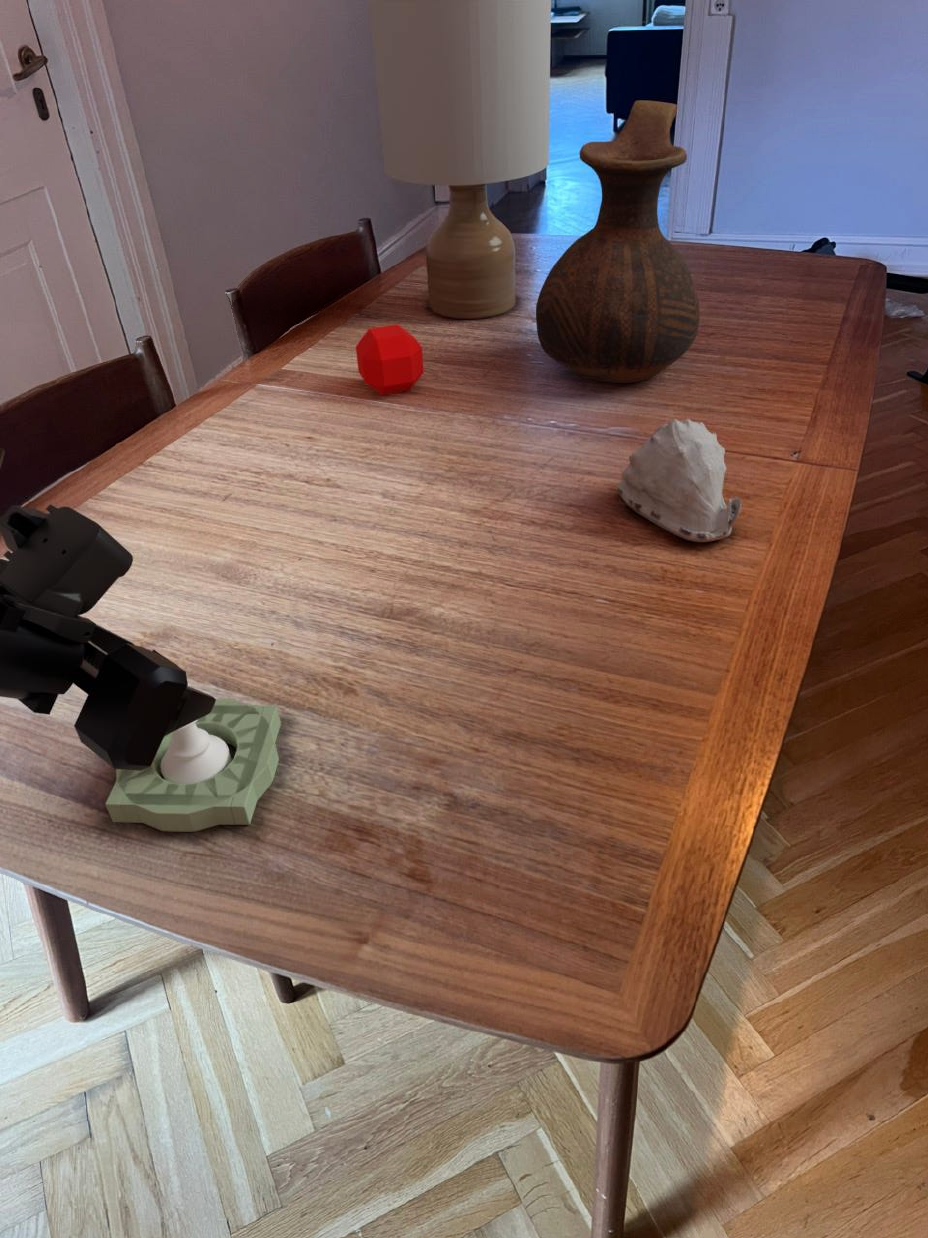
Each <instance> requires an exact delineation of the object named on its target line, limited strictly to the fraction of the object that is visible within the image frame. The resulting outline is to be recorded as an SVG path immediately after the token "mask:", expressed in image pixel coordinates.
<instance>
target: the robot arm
mask: <svg viewBox="0 0 928 1238" xmlns="http://www.w3.org/2000/svg"><path fill="white" fill-rule="evenodd" d="M5 453H6V451H5V450H4V448H3V447H1V446H0V469H1V468H2V464H3V461H4V457H5ZM45 510H46V511H47V512H49V513H45V512H44V511H41V510H39V509H35V508H31V507H25V506H20V505H16V504H14V505H11V506H10V507H9V509H7V511H5V513H4V514H3V515H2V516H0V534H1V536H2V539H3V541H4V543H5V546H6V548H8V550H7V551H6V552H5V553H4V554H3V557H4V558H6V559H3V558H0V697H1V698H7V699H15V700H18V701H19V702H20V703H22V704H23V705H24V706H25V707H26V708H27V709H29V710H30V711H31V712H32V713H34V714H40V715H49V716H50V715H51V713H52V710H53V708H54V707H55V706H54V705H55V703H56V701H57V699H58V697H59V695H62V696H63V695H65V694H66V693H67V692H68V691H69V690H70V688H71V687H72V686H73V685H75V686H76V687H77V688H79V690H81V691H82V692H84V693H85V694H86V695H87V696H86V699H85V701H84V703H83V705H82V706H81V710H80V712H79V714H78V716H77V718H76V720H75V722H74V725H73V727H74V728H75V732H76V734H77V736H78V738H79V740H80V742H81V743H82V744H83V745H84V746H86V748H88V749H89V750H90V751H91V752H93V753H94V754H95V755H97V756H98V757H99V758H100V759H101V760H103V761H104V762H105V763H106V764H107V765H109V766H110V767H111V768H113V770H116V769H123V770H138V771H141V770H144V769H146V768H148V767H150V766H151V765H152V762H153V760H154V758H155V756H156V754H157V751H158V749H159V747H160V745H161V743H162V740H163V738H164V737H165V736H166V735H168V734H170V733H172V732H174V731H176V730H178V729H180V728H182V727H184V726H186V725H188V724H190V723H192V722H194V721H196V720H198V719H200V718H202V717H204V716H206V715H208V714H209V713H210V712H211V711H212V709H213V706H214V704H215V702H216V699H217V698H215V697H214V696H213V695H211V694H208V693H206V692H204V691H202V690H199V689H197V688H195V687H193V686H191V685H190V686H191V687H190V686H188V684H189V682H188V676H187V671H186V670H184V669H183V668H181V667H180V666H179V665H178V664H176V663H175V662H174V661H172V660H170V659H169V658H167V657H166V656H164V655H162V654H161V653H160V652H158V651H157V650H155V649H152V650H151V649H148V648H145V647H144V646H142V645H136V644H135V643H133V642H132V641H130V640H128V639H126V638H125V637H122V636H120V635H119V634H116V633H114V632H113V631H111V630H108V629H106V628H104V627H103V626H101V625H99V624H97V623H95V622H94V621H93V620H91V619H90V618H89V617H84V616H82V615H85V614H87V613H89V611H91V610H92V609H93V608H94V607H95V606H96V604H98V602H99V601H100V600H101V599H102V598H103V597H104V595H105V594H106V593H107V592H108V590H109V589H110V588H111V587H112V586H113V585H114V584H115V582H117V580H119V578H123V577H124V576H126V574H127V573H128V572H129V571H130V570H131V568H132V566H133V562H134V557H133V555H132V553H131V552H130V551H129V550H127V548H126V547H124V546H123V545H122V544H121V543H120V542H119V541H118V540H117V539H115V538H114V537H113V536H112V534H110V533H109V532H108V531H107V530H105V529H104V527H103V526H101V525H100V524H99V523H98V522H97V521H95V520H93V519H91V518H90V517H88V516H86V515H85V514H82V513H80V512H78V511H77V510H75V509H73V507H70V506H60V507H56V506H55V505H53V504H52V503H51V504H48V506H47V507H46V508H45ZM9 550H10V551H9Z"/></svg>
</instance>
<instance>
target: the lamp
mask: <svg viewBox="0 0 928 1238" xmlns="http://www.w3.org/2000/svg"><path fill="white" fill-rule="evenodd" d="M368 7H369V19H370V20H369V21H370V29H371V40H372V51H373V60H374V72H375V73H374V74H375V82H376V83H375V84H376V94H377V104H378V105H377V107H378V117H379V126H380V136H381V148H382V158H383V168H384V169H383V170H384V173H385V175H386V176H388V177H389V178H392V179H394V180H396V181H399V182H405V183H409V184H416V185H426V186H447V187H448V188H449V195H448V197H449V198H448V199H449V207H448V209H447V213H446V215H445V216H444V218H443V220H442V221H441V222H440V223H439V224H438V225H437V226H436V227H435V228H434V230H433V231H432V233H431V234H430V235H429V237H428V239H427V241H426V247H425V263H426V264H425V265H426V274H427V278H426V279H427V292H428V299H429V300H428V301H429V307H430V309H431V310H432V311H433V312H434V313H435V314H437V315H439V316H442V317H446V318H451V319H458V320H470V319H471V320H472V319H485V318H486V319H487V318H491V317H495V316H496V317H497V316H499V315H502V314H506V313H507V312H509V311H510V310H512V309H513V308H514V306H515V305H516V303H517V298H516V297H517V294H516V292H517V290H516V289H517V288H516V286H517V281H516V265H517V262H516V259H517V257H516V255H517V254H516V253H517V252H516V246H515V242H514V239H513V235H512V233H511V231H510V229H508V227H506V225H504V223H502V221H500V220H499V219H498V218H497V217H496V216H495V215H494V213H493V212H492V211H491V210H490V207H489V201H488V193H487V191H488V190H487V186H488V184H493V183H502V182H507V181H512V180H517V179H521V178H525V177H529V176H532V175H535V174H537V173H539V172H542V171H543V170H544V169H546V168H547V167H548V166H549V164H550V107H551V106H550V105H551V104H550V102H551V101H550V100H551V99H550V98H551V34H552V33H551V32H552V31H551V29H552V28H551V27H552V23H551V22H552V21H551V20H552V0H368Z"/></svg>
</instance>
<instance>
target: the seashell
mask: <svg viewBox="0 0 928 1238" xmlns="http://www.w3.org/2000/svg"><path fill="white" fill-rule="evenodd" d="M725 453H726V449H725V448H724V447H723V446H722V445H721V444H720V443H719V442H718V435H717V433H716V432H710V431H709V430H708V428H707V427H706V425H705V423H703V422H702V421H700V422H699V421H698V422H697V421H693V420H692V421H691V419H690V418H689V417H688V418H686V419H682V420H678V419H676V418H673V419H671V420H670V421H669V422H668V423H663V424H661V425H659V426H658V427H657V428H656V429H655V430H654V431H653V432H652V434H651V435H650V437H649V438H647V439H646V440H645V441H644V443H643V444H642V445H641V446H640V448H638V449H637V450H636V451H635V452H633V453H632V454H630V455H629V457H628V459H629V464H628V466H627V467H626V468H625V469H624V470H623V471H622V472H621V478H622V480H621V482H620V483H619V484H617V485H616V491H617V494H618V495H619V496H620V498H621V499H622V501H624V503H626V505H627V506H628V507H629V508H630V509H631V510H633V511H634V512H636V513H637V514H638V515H640V516H641V517H643V518H645V519H647V520H648V521H650V522H652V523H653V524H655V525H656V526H658V527H659V528H662V529H663V530H665V531H668V532H669V533H671V534H673V535H675V536H677V537H679V538H681V539H684V540H687V541H689V542H694V543H707V542H713V541H718V540H723V539H727V538H728V537H729V536H730V535H731V534H732V531H733V524H735V522H736V520H737V519H738V517H739V514H740V512H741V510H742V501H741V497H739V496H736V497H732V498H728V500H727V503H728V504H727V503H726V502H725V500H724V496H723V488H724V483H725V482H724V481H725V476H726V472H727V466H726V464H725Z"/></svg>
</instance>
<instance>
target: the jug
mask: <svg viewBox="0 0 928 1238" xmlns="http://www.w3.org/2000/svg"><path fill="white" fill-rule="evenodd" d="M677 111H678V105H677V104H676V103H670V102H664V101H655V100H642V99H641V100H635V101H634V102H633V105H632V106H631V110H630V113H629V116H628V117H627V120H626V122H625V124H624V126H623V127H622V129H621V130H620V132H619V133H618V135H616V137H615V138H614V139H613V140H608V141H589V142H587V143H585V144H583V145H582V146H581V148H580V150H579V159H580V161H581V162H582V163H584V164H585V165H587V166H588V167H589V168H591V169H592V170H593V171H594V172H595V174H596V175H597V177H598V180H599V182H600V188H601V202H600V206H599V211H598V215H597V220H596V222H595V225H594V227H592V228H591V229H590V230H589V231H587V232H586V233H584V234H583V235H581V236H580V237H579V238H578V239H576V240H574V242H573V243H572V244H571V245H570V246H569V247H568V248H567V249H566V250H565V252H563V253H562V255H561V256H560V257H559V259H558V260H557V261H556V262H555V264H554V265H553V266H552V267H551V268H550V270H549V272H548V274H547V276H546V278H545V280H544V282H543V285H542V286H541V289H540V291H539V294H538V296H537V297H538V298H537V300H536V305H535V324H536V325H535V326H536V332H537V338H538V341H539V344H540V347H541V349H542V350H543V352H544V353H545V354H546V355H547V356H548V357H550V358H551V359H552V360H554V361H555V362H557V363H558V364H560V365H562V366H564V367H565V368H567V369H569V370H570V371H571V372H573V373H575V374H576V375H578V376H579V377H581V378H584V379H589V380H594V381H599V382H605V383H615V384H632V383H639V382H643V381H646V380H649V379H651V378H653V377H655V376H656V375H658V374H659V373H661V372H662V371H664V370H665V369H666V368H668V367H669V366H670V365H672V364H674V363H675V362H676V361H678V360H679V359H681V357H683V356H684V355H685V353H687V351H688V350H689V349H690V348H691V346H692V344H694V341H695V339H696V338H697V335H698V332H699V329H700V317H701V315H700V314H701V312H700V301H699V296H698V292H697V288H696V285H695V282H694V279H693V277H692V275H691V272H690V269H689V266H688V264H687V262H686V261H685V259H684V257H683V256H682V254H681V253H680V251H679V250H678V249H677V248H676V247H675V246H674V244H672V243H671V242H670V241H669V240H668V239H667V238H666V237H665V235H664V234H663V233H662V230H661V228H660V224H659V216H658V206H659V195H660V190H661V185H662V183H663V181H664V178H665V177H666V175H667V174H668V173H669V171H670V170H671V169H674V168H677V167H679V166H682V165H683V164H685V163H686V162H687V160H688V153H687V150H686V149H684V148H683V147H680V146H677V145H673V144H672V143H671V135H670V134H671V133H670V132H671V128H672V124H673V121H674V119H675V117H676V116H677Z"/></svg>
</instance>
